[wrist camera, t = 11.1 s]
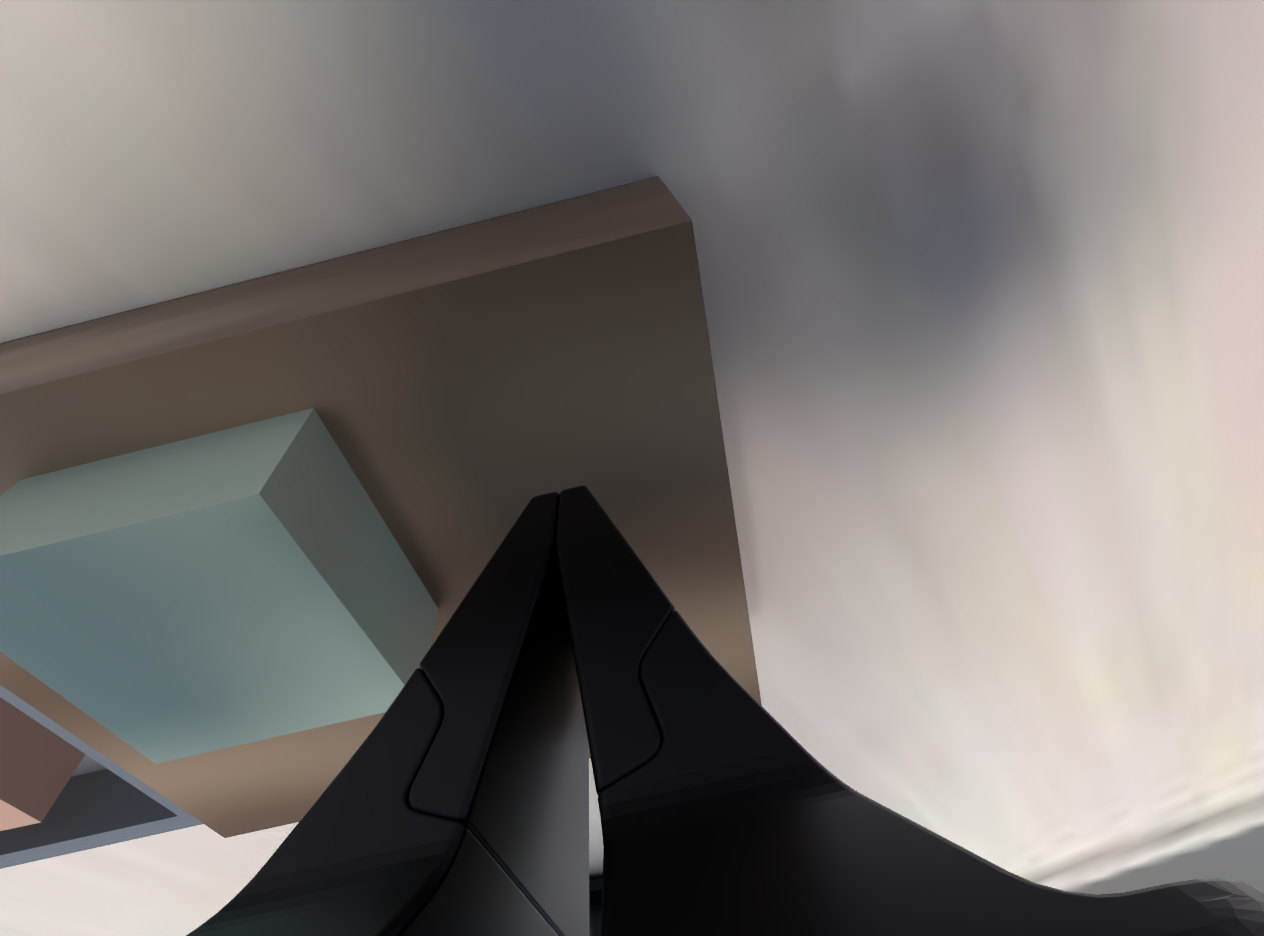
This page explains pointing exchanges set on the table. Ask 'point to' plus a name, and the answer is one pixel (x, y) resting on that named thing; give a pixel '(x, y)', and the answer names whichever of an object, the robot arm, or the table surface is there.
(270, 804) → the walnut board
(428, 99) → the table surface
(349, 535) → the sage tile
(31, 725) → the terracotta tile
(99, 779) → the tray
